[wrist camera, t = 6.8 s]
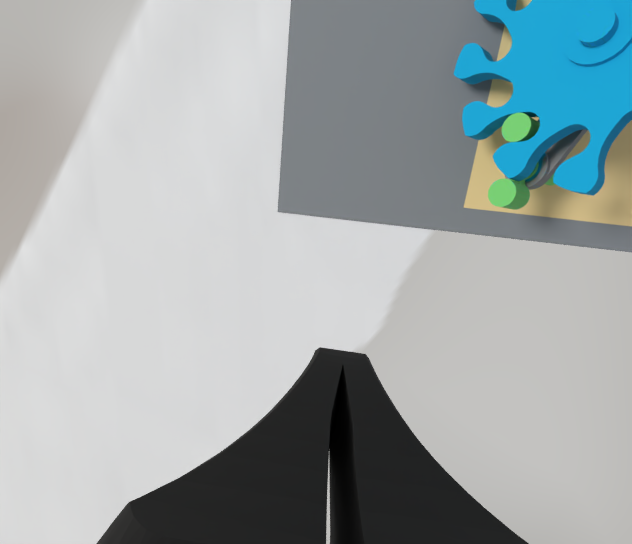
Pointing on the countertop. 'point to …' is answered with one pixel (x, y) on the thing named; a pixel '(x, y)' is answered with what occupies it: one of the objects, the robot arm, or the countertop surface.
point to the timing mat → (419, 128)
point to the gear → (553, 92)
